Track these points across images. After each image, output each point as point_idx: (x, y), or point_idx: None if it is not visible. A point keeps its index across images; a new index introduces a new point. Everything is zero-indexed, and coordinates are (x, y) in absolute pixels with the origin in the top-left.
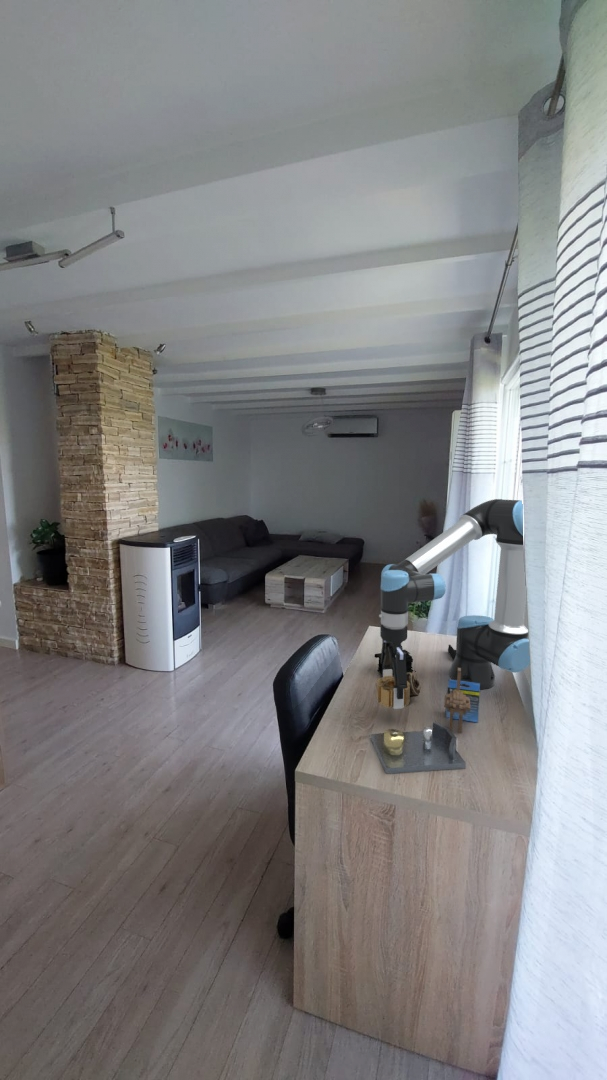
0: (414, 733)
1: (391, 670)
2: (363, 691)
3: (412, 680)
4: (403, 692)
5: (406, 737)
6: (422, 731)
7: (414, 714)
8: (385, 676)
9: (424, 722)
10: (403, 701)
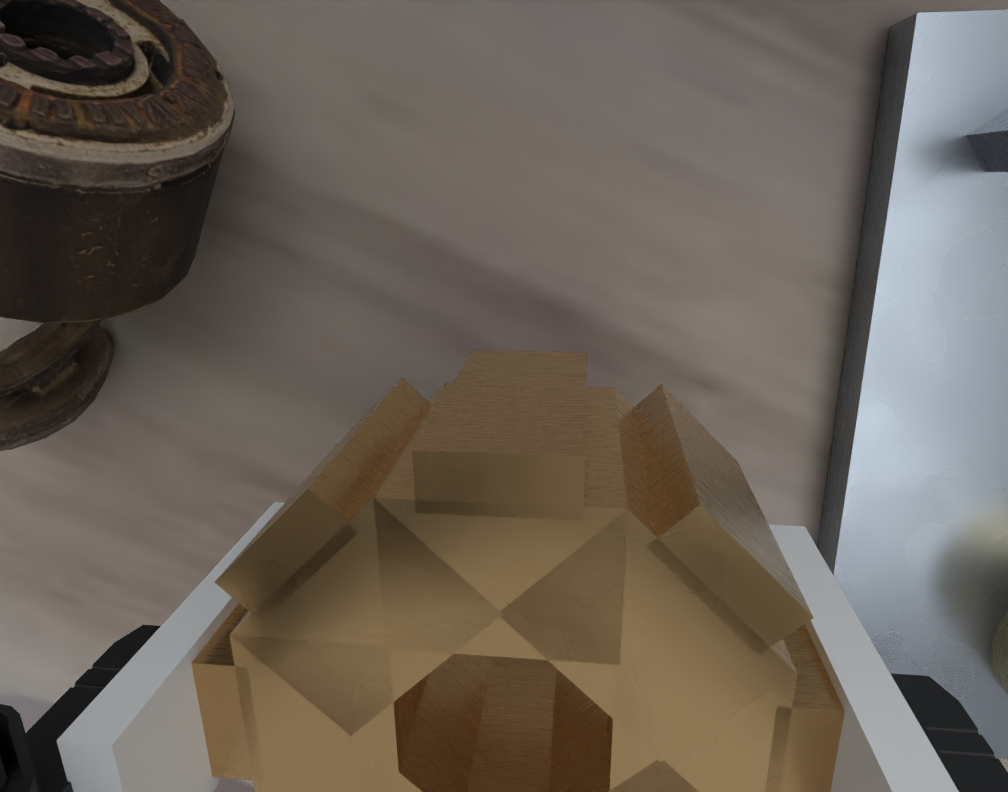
0: (907, 364)
1: (118, 756)
2: (35, 533)
3: (70, 128)
4: (904, 710)
5: (949, 468)
6: (892, 262)
7: (454, 177)
8: (217, 763)
9: (619, 123)
10: (838, 590)
